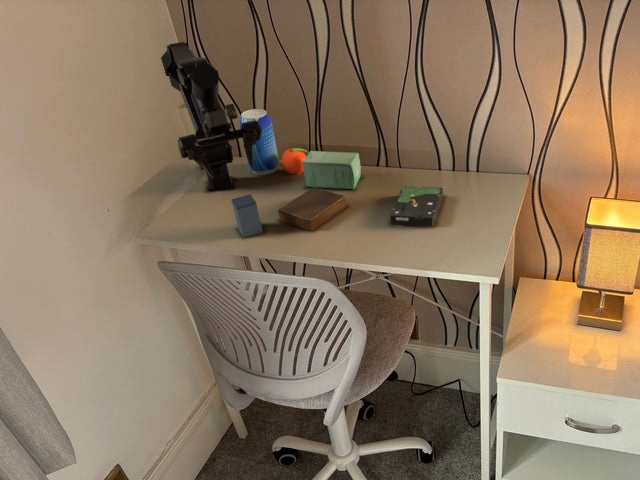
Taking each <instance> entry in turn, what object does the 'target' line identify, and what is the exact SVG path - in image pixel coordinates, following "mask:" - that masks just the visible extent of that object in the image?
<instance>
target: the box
mask: <svg viewBox="0 0 640 480" xmlns="http://www.w3.org/2000/svg"><path fill="white" fill-rule="evenodd" d="M302 163H303V170H304V171H303V176H304V177H303V178H304V184H305V187H306V188H313V187H314V188H318V189H341V190H355V188H356V186H357V184H358V182H359V180H360V179H361V173H362V170H361V169H362V167H361V160H360V154H359V152H345V151H343V152H342V151H321V150H320V151H318V150H310V151H309V152H308V153H307V155H306V158H305V159H304V160H303V161H302Z"/></svg>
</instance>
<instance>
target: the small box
mask: <svg viewBox="0 0 640 480" xmlns="http://www.w3.org/2000/svg"><path fill="white" fill-rule="evenodd" d="M230 201H231V205H232V208H233V212H234V217H235V220H236V225H237V229H238V230H239V232H240V234H241V236H242V237H243V238H245V239H246V238H248V237H252V236H255V235H258V234H261V233H263V226H262V222H261V218H260V217H261V216H260V213H259V208H258V203H257V201H256V200H255V198H254V197H253V196H252V194H246V195H242V196H237V197H235V198H231V199H230Z"/></svg>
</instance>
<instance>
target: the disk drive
mask: <svg viewBox="0 0 640 480" xmlns="http://www.w3.org/2000/svg"><path fill="white" fill-rule="evenodd" d="M443 197H444V190H443V187H436V186H435V187H433V186H431V187H430V186H421V187H417V186H415V187H413V186H407V185H405V186H404V187H402V188H401V189H400V191H399V194H398V196H397V198H396V200H395V203H394V205H393V207H392V210H391V211H390V215H389V218H390V224H393V225H401V226H402V225H403V226H417V227H418V226H419V227H433V226H434V225H435V222H436V218H437V216H438V213H439V209H440V207H441V203H442V200H443Z"/></svg>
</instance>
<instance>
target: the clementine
mask: <svg viewBox="0 0 640 480" xmlns="http://www.w3.org/2000/svg"><path fill="white" fill-rule="evenodd" d="M305 152H306V154H309V152H308V150H306V149H304V148H300V147H290V148H288V149H286V150H285V151H284V152H283V154H282V156H281V165H282V168H283V169H284V170H285V172H287V173H288V174H290V175H298V174H301V173H304V170H303V163H302V161H303V160H304V159H305V158H306V156H307V155H306V154H305Z"/></svg>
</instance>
